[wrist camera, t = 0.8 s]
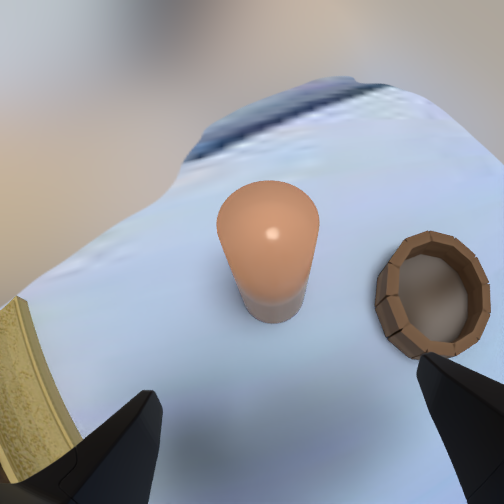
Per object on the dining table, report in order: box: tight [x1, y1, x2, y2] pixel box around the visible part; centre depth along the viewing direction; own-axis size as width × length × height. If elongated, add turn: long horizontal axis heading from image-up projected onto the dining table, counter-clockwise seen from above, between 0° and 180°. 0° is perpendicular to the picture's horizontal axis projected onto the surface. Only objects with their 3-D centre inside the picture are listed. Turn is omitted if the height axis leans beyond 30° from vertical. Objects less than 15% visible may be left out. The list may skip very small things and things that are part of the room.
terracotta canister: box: [217, 181, 319, 324], centre depth 19 cm, size 5×5×11 cm
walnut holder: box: [375, 231, 491, 360], centre depth 21 cm, size 10×10×3 cm
